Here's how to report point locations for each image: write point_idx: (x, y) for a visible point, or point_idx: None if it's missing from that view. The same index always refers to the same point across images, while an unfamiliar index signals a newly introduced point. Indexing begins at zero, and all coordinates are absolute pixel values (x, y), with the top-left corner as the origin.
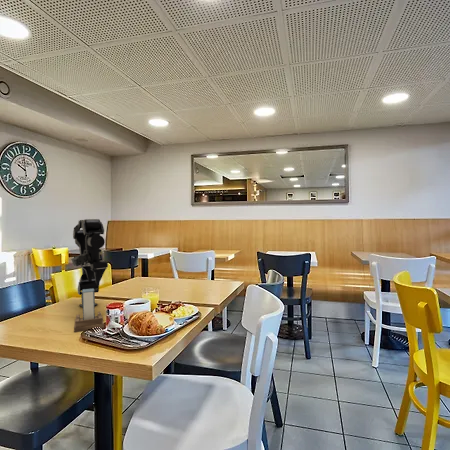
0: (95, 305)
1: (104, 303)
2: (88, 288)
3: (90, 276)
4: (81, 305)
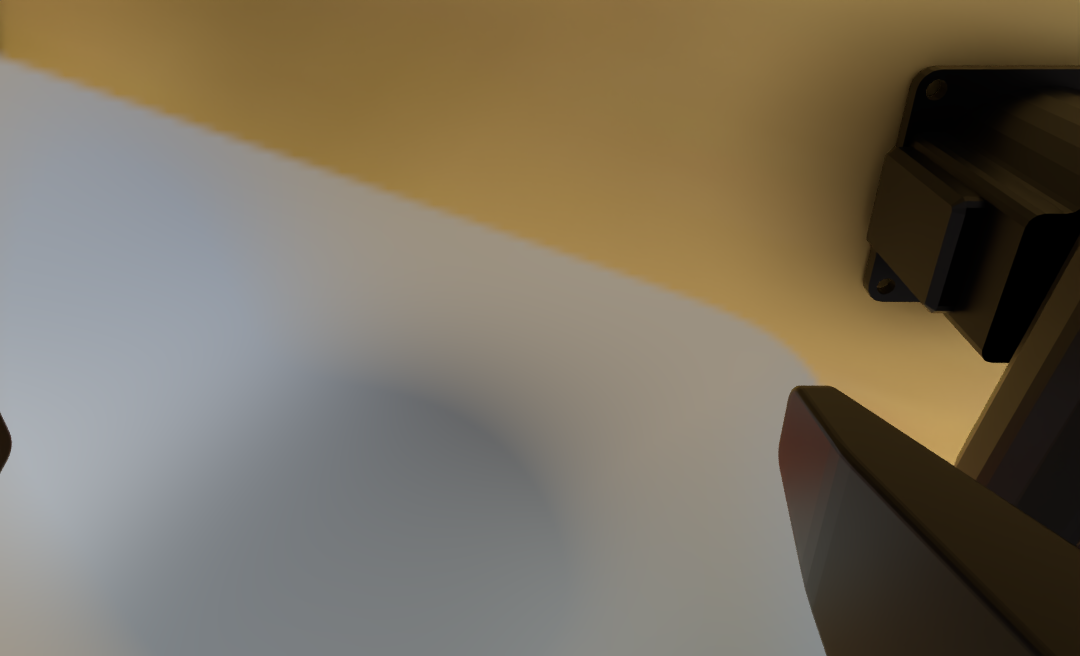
0: (868, 262)
1: (887, 397)
2: (1041, 310)
3: (852, 595)
4: (1077, 79)
